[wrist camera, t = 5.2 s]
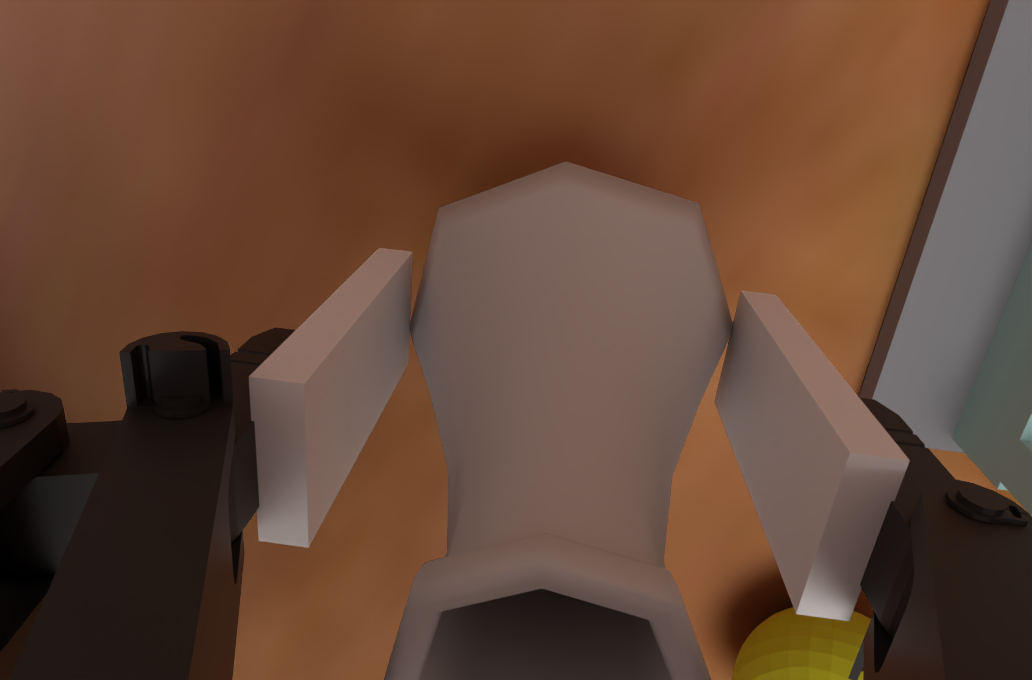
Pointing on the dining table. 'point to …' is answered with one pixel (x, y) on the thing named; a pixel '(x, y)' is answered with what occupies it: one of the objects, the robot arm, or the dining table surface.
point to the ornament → (801, 648)
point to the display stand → (972, 273)
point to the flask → (561, 428)
